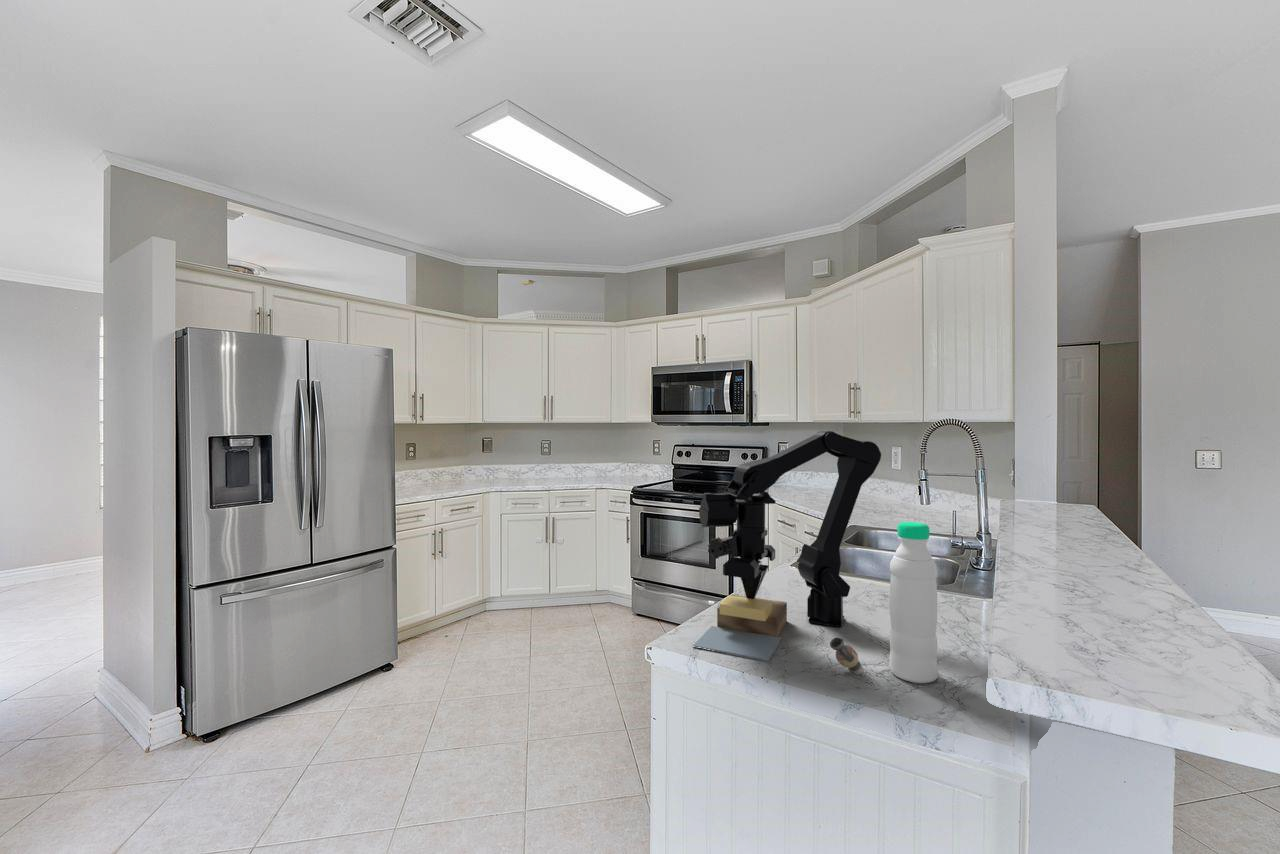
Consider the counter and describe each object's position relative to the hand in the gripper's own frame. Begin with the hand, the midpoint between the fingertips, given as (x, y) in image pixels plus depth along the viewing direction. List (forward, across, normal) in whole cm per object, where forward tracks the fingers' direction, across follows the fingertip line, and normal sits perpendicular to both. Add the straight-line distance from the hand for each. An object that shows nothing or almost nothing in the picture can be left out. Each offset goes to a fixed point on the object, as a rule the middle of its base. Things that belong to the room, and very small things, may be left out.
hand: (750, 601), depth 111 cm
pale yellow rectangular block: (+1, +4, 0) cm, 4 cm away
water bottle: (+5, +9, +30) cm, 32 cm away
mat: (+5, +10, 0) cm, 11 cm away
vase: (+5, +13, +20) cm, 24 cm away
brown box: (+5, -1, 0) cm, 5 cm away
